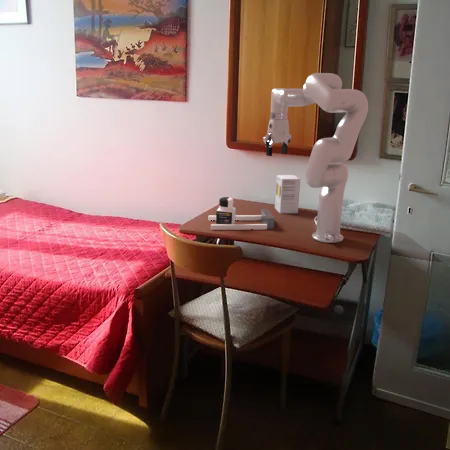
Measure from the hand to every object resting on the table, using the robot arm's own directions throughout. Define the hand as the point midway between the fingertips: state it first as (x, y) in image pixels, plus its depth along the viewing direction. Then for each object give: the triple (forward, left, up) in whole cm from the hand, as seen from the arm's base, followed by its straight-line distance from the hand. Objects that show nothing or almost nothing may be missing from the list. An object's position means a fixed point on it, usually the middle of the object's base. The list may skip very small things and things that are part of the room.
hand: (276, 154), depth 244 cm
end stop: (-15, +6, -28) cm, 33 cm away
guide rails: (-15, +19, -28) cm, 38 cm away
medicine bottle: (-15, +24, -29) cm, 41 cm away
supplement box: (+7, -8, -28) cm, 30 cm away
